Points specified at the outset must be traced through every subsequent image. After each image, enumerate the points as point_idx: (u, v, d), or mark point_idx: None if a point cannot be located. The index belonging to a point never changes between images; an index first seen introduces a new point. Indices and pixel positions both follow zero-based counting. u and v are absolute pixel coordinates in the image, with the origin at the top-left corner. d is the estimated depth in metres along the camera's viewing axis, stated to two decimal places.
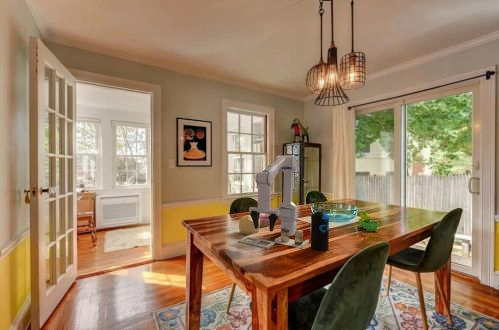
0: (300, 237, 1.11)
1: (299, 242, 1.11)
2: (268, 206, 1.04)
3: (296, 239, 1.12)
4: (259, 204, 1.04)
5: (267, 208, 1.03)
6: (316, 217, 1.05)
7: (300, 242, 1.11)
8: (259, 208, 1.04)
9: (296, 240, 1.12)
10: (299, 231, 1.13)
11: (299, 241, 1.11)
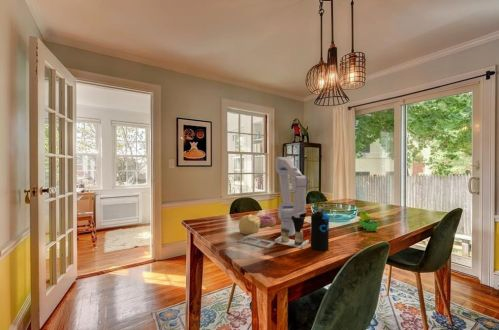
0: (300, 237, 1.11)
1: (299, 242, 1.11)
2: (296, 208, 1.11)
3: (296, 239, 1.12)
4: None
5: (295, 209, 1.11)
6: (316, 217, 1.05)
7: (300, 242, 1.11)
8: None
9: (296, 240, 1.12)
10: None
11: (299, 241, 1.11)
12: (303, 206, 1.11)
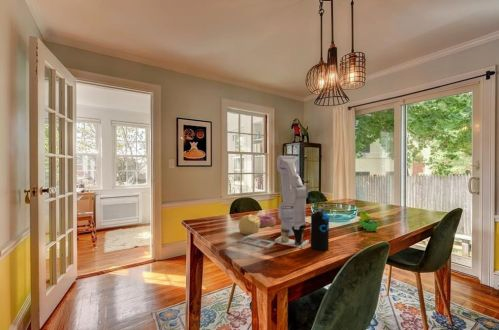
0: None
1: None
2: (296, 219, 1.11)
3: None
4: None
5: (295, 221, 1.11)
6: (316, 217, 1.05)
7: (300, 242, 1.11)
8: None
9: None
10: None
11: None
12: (303, 217, 1.11)
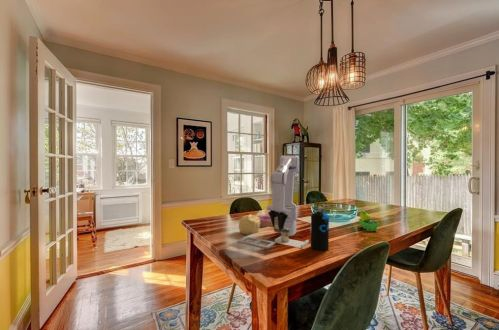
0: None
1: None
2: (280, 205, 1.07)
3: None
4: (272, 203, 1.09)
5: (279, 207, 1.07)
6: (316, 217, 1.05)
7: None
8: (272, 207, 1.09)
9: (278, 227, 1.08)
10: None
11: None
12: (284, 203, 1.09)
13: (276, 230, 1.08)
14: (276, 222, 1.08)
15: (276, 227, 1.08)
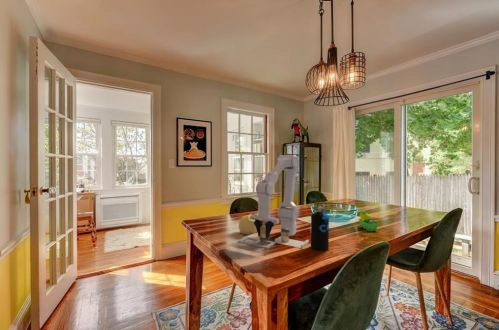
0: None
1: None
2: (268, 214, 1.10)
3: (265, 235, 1.11)
4: (259, 213, 1.10)
5: (267, 216, 1.10)
6: (316, 217, 1.05)
7: None
8: (259, 216, 1.10)
9: (265, 236, 1.11)
10: (264, 226, 1.13)
11: None
12: None
13: (263, 239, 1.11)
14: (263, 231, 1.11)
15: (263, 236, 1.11)
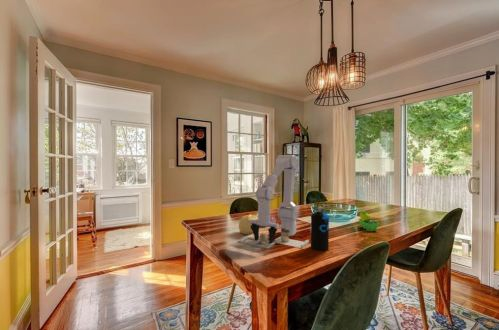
0: (267, 239, 1.12)
1: (267, 244, 1.12)
2: (268, 219, 1.10)
3: (265, 243, 1.11)
4: (259, 218, 1.11)
5: (267, 221, 1.10)
6: (316, 217, 1.05)
7: (267, 244, 1.13)
8: (259, 221, 1.10)
9: (265, 244, 1.11)
10: (264, 234, 1.13)
11: (267, 243, 1.12)
12: None
13: None
14: (263, 239, 1.11)
15: (263, 244, 1.11)
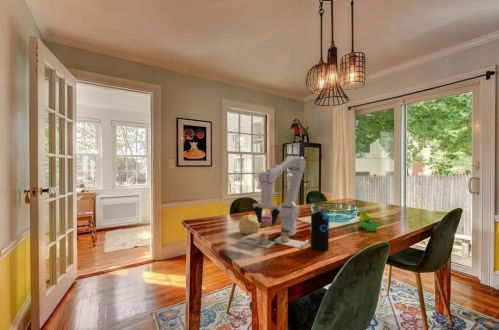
0: (267, 239, 1.12)
1: (267, 244, 1.12)
2: (270, 202, 1.15)
3: (265, 243, 1.11)
4: (262, 200, 1.15)
5: (270, 204, 1.15)
6: (316, 217, 1.05)
7: (267, 244, 1.13)
8: (262, 204, 1.15)
9: (265, 244, 1.11)
10: (264, 234, 1.13)
11: (267, 243, 1.12)
12: None
13: None
14: (263, 239, 1.11)
15: (263, 244, 1.11)
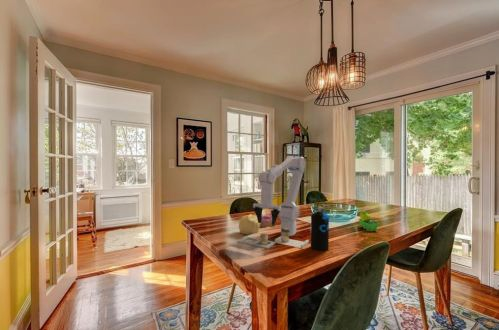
0: (267, 239, 1.12)
1: (267, 244, 1.12)
2: (270, 202, 1.15)
3: (265, 243, 1.11)
4: (262, 200, 1.15)
5: (270, 204, 1.15)
6: (316, 217, 1.05)
7: (267, 244, 1.13)
8: (262, 204, 1.15)
9: (265, 244, 1.11)
10: (264, 234, 1.13)
11: (267, 243, 1.12)
12: None
13: None
14: (263, 239, 1.11)
15: (263, 244, 1.11)
